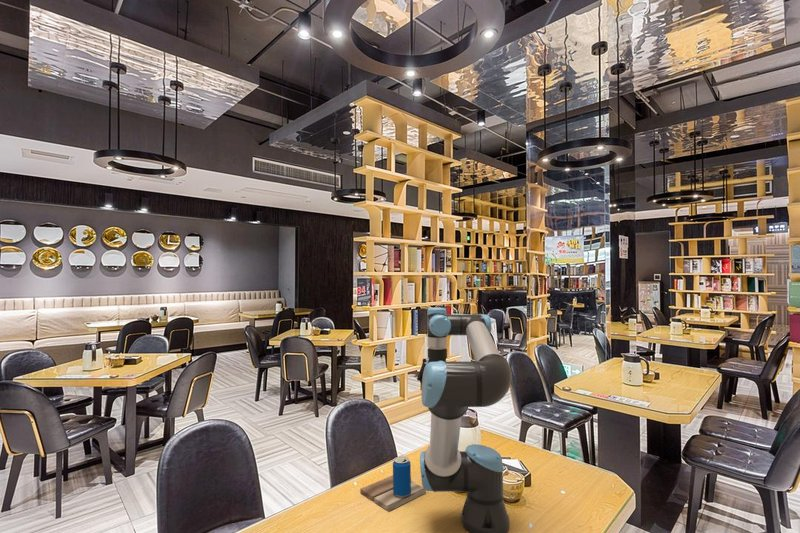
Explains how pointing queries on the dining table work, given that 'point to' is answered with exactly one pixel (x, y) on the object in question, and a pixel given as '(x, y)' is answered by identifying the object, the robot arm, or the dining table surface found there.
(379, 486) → the walnut board
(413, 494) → the plank
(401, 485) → the beverage can
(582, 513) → the dining table surface
